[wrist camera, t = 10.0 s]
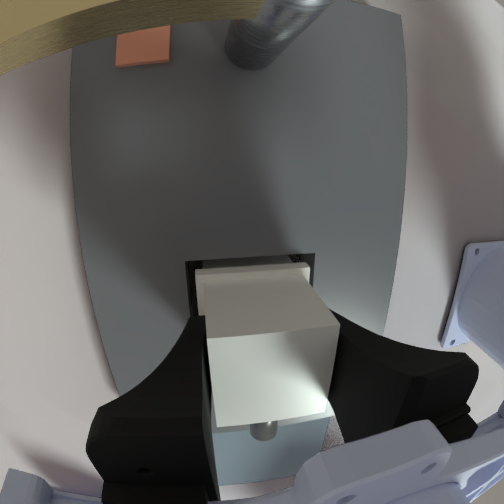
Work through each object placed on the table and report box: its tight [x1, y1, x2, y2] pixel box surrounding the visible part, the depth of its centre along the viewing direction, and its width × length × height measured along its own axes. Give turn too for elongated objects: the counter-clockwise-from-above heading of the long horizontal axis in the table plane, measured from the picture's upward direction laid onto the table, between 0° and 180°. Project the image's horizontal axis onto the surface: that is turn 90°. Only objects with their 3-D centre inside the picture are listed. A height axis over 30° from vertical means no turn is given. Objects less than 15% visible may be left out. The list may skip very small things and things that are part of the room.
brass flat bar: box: [0, 0, 337, 75], centre depth 6 cm, size 2×14×6 cm, turn 95°
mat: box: [212, 417, 330, 486], centre depth 20 cm, size 9×9×1 cm
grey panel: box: [70, 0, 407, 433], centre depth 14 cm, size 14×22×2 cm, turn 0°
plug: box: [195, 255, 340, 441], centre depth 13 cm, size 5×7×6 cm
